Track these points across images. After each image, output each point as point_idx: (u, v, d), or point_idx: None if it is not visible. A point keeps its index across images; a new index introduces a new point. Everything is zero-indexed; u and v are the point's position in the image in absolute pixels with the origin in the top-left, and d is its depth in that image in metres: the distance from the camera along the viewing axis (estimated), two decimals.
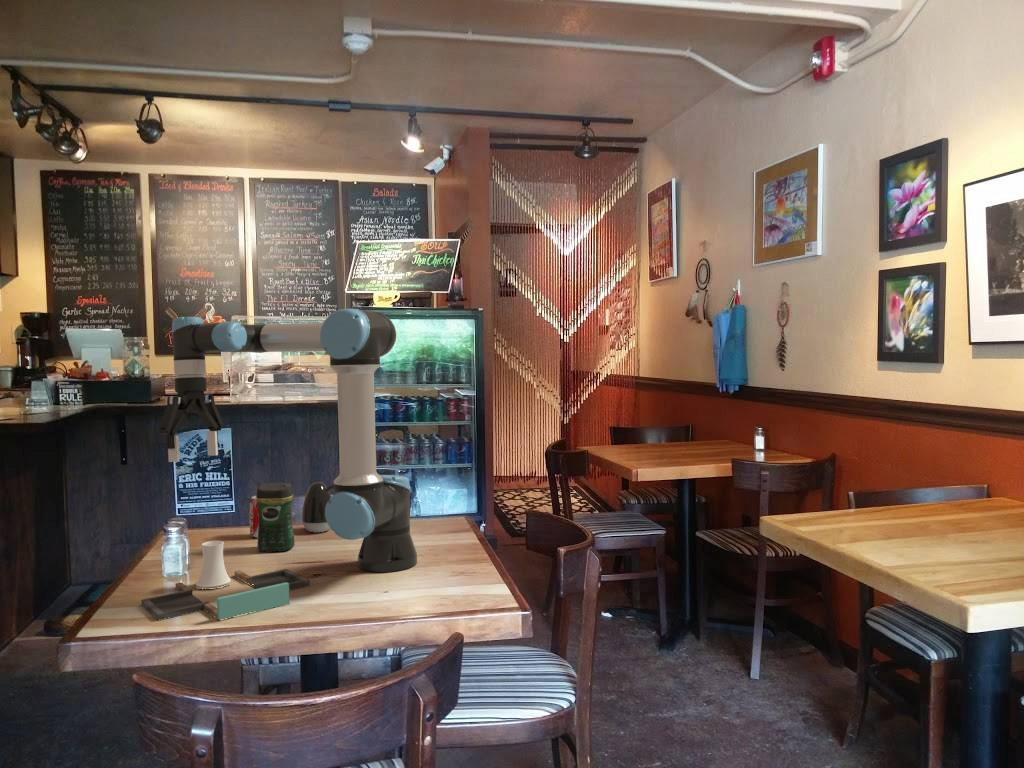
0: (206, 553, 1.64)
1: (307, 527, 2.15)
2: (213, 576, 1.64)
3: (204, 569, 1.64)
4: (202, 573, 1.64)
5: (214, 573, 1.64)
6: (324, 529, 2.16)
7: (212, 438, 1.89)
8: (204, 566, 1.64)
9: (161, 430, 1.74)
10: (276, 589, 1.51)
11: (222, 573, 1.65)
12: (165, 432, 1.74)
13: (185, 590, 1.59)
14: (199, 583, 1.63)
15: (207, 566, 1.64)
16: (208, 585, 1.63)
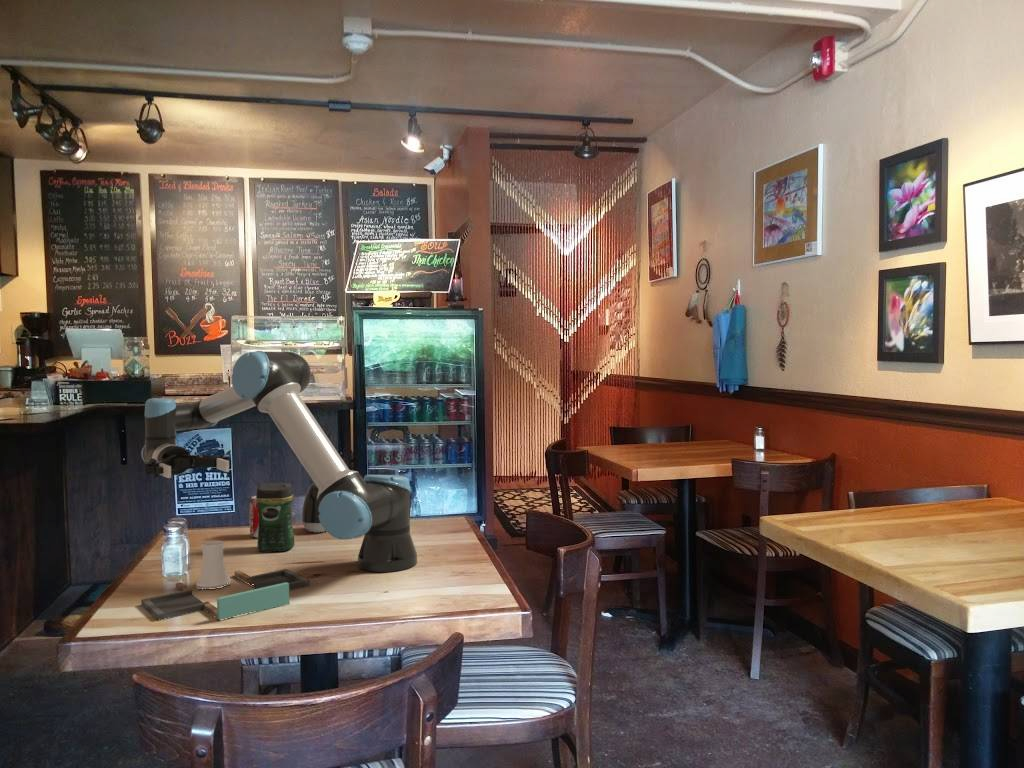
0: (206, 553, 1.64)
1: (307, 527, 2.15)
2: (213, 576, 1.64)
3: (204, 569, 1.64)
4: (202, 573, 1.64)
5: (214, 573, 1.64)
6: (324, 529, 2.16)
7: (219, 462, 1.79)
8: (204, 566, 1.64)
9: None
10: (276, 589, 1.51)
11: (222, 573, 1.65)
12: (145, 466, 1.70)
13: (185, 590, 1.59)
14: (199, 583, 1.63)
15: (207, 566, 1.64)
16: (208, 585, 1.63)
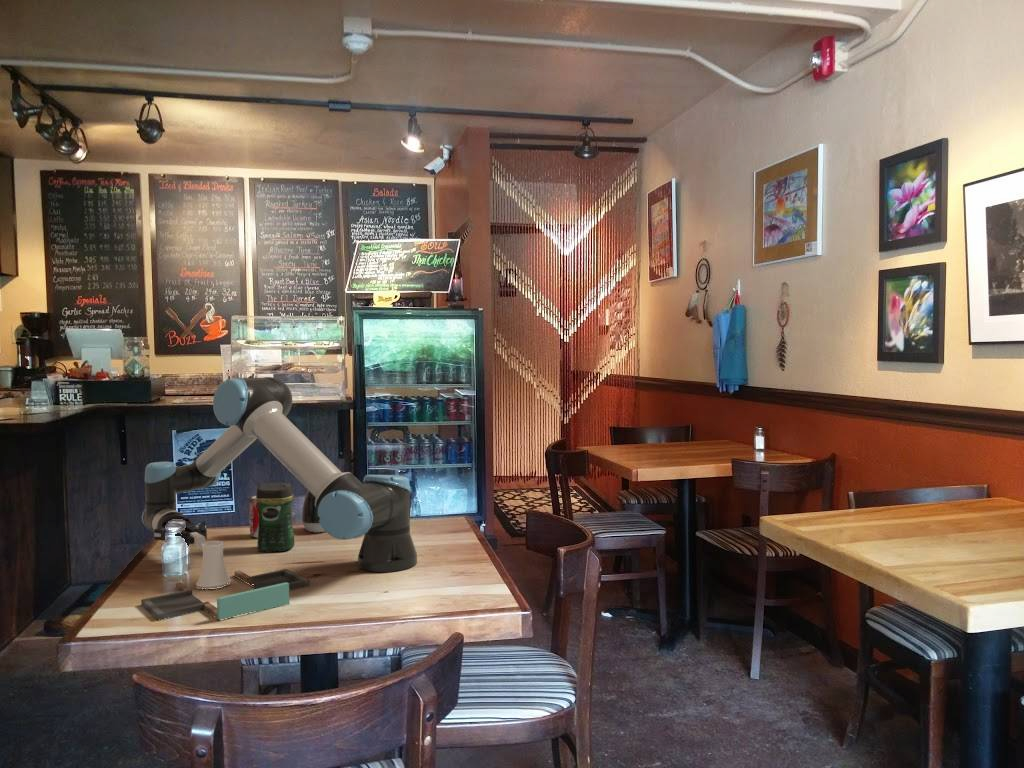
0: (206, 553, 1.64)
1: (307, 527, 2.15)
2: (213, 576, 1.64)
3: (204, 569, 1.64)
4: (202, 573, 1.64)
5: (214, 573, 1.64)
6: None
7: None
8: (204, 566, 1.64)
9: None
10: (276, 589, 1.51)
11: (222, 573, 1.65)
12: None
13: (185, 590, 1.59)
14: (199, 583, 1.63)
15: (207, 566, 1.64)
16: (208, 585, 1.62)
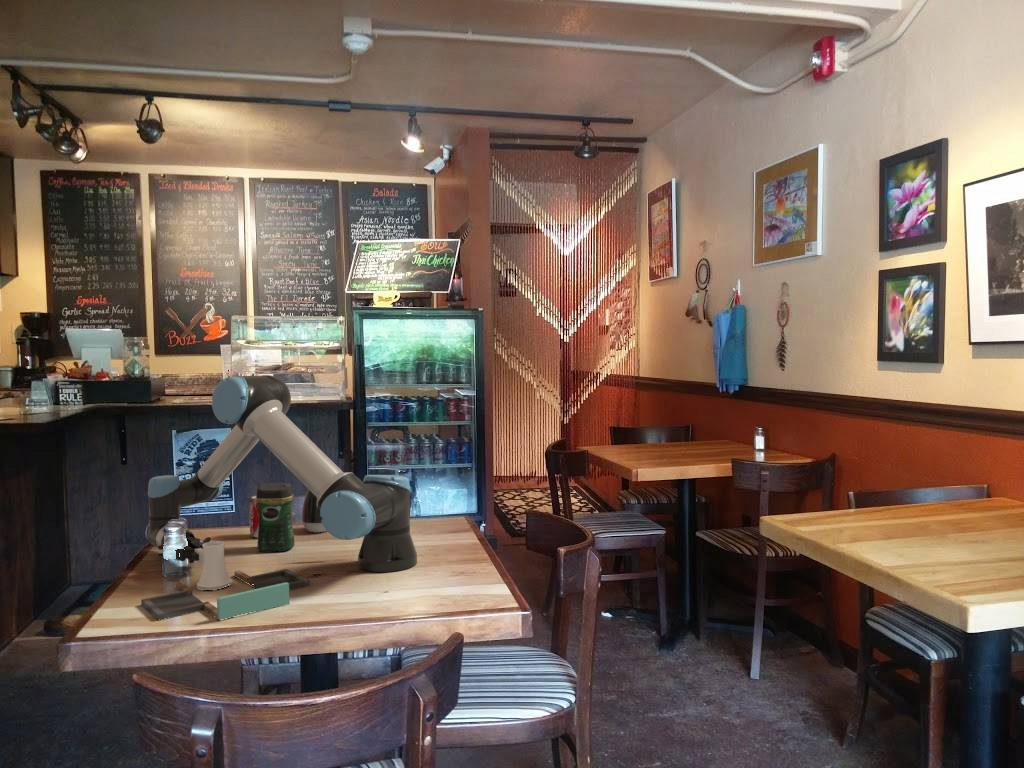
0: (207, 553, 1.63)
1: (307, 527, 2.15)
2: (214, 576, 1.63)
3: (205, 569, 1.63)
4: (203, 574, 1.63)
5: (215, 574, 1.63)
6: (324, 529, 2.16)
7: None
8: (205, 567, 1.63)
9: (180, 557, 1.70)
10: (276, 589, 1.51)
11: (223, 573, 1.64)
12: (182, 552, 1.70)
13: (185, 590, 1.59)
14: (200, 584, 1.63)
15: (208, 566, 1.63)
16: (209, 586, 1.62)
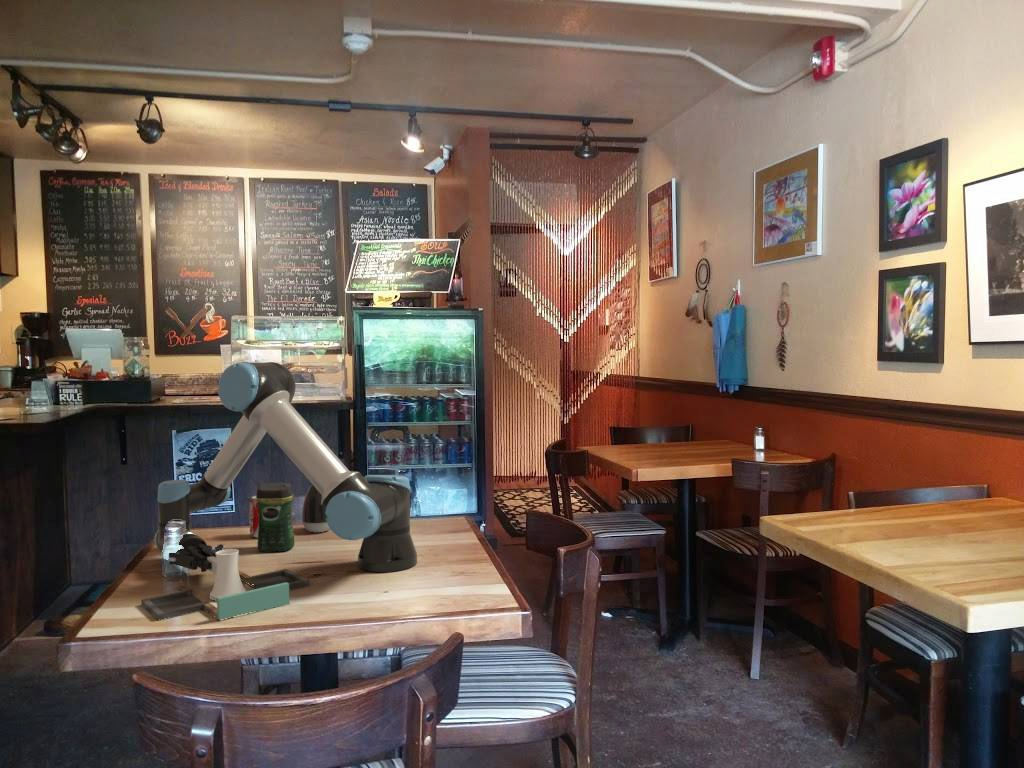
0: (220, 562, 1.56)
1: (307, 527, 2.15)
2: (228, 586, 1.56)
3: (218, 579, 1.56)
4: (216, 583, 1.56)
5: (229, 583, 1.56)
6: (324, 529, 2.16)
7: None
8: (218, 576, 1.56)
9: (192, 565, 1.63)
10: (276, 589, 1.51)
11: (237, 583, 1.57)
12: (194, 560, 1.63)
13: (185, 590, 1.59)
14: (213, 594, 1.56)
15: (221, 576, 1.56)
16: None
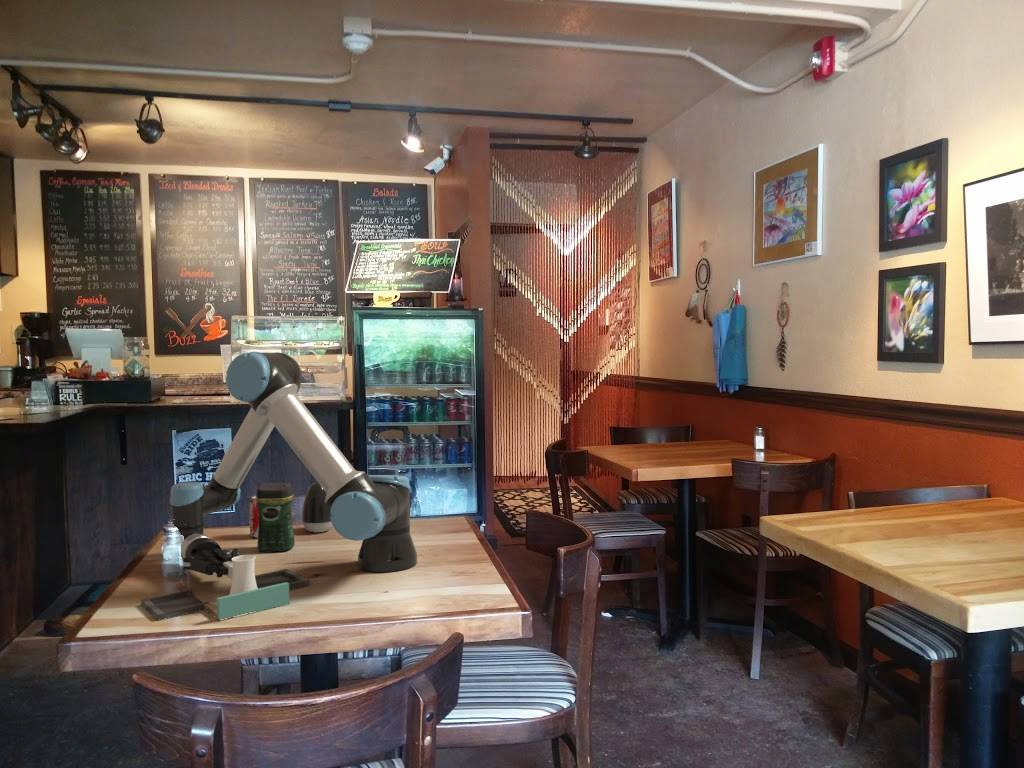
0: (237, 569, 1.51)
1: (307, 527, 2.15)
2: None
3: (234, 586, 1.51)
4: (232, 590, 1.51)
5: None
6: (324, 529, 2.16)
7: None
8: (234, 583, 1.51)
9: (207, 570, 1.58)
10: (276, 589, 1.51)
11: None
12: (210, 566, 1.58)
13: (185, 590, 1.59)
14: None
15: (238, 583, 1.51)
16: None
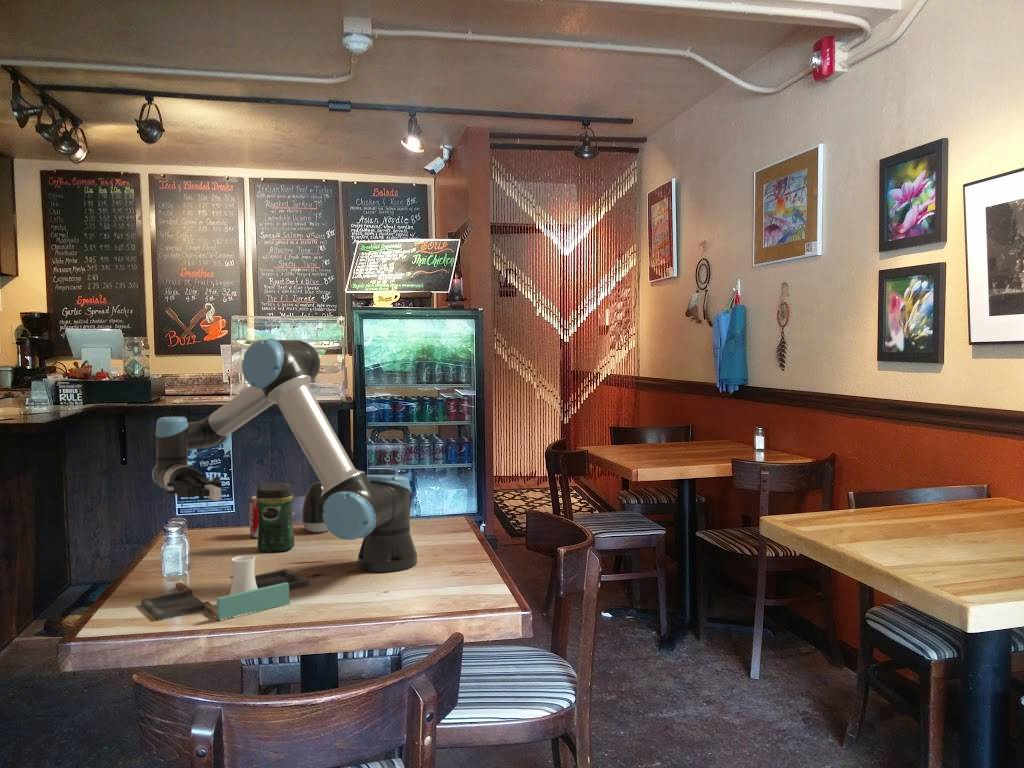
0: (237, 569, 1.51)
1: (307, 527, 2.15)
2: None
3: (234, 586, 1.51)
4: (232, 591, 1.51)
5: None
6: (324, 529, 2.16)
7: None
8: (234, 583, 1.51)
9: (190, 493, 1.67)
10: (276, 589, 1.51)
11: None
12: (192, 488, 1.66)
13: (185, 590, 1.59)
14: None
15: (238, 583, 1.51)
16: None
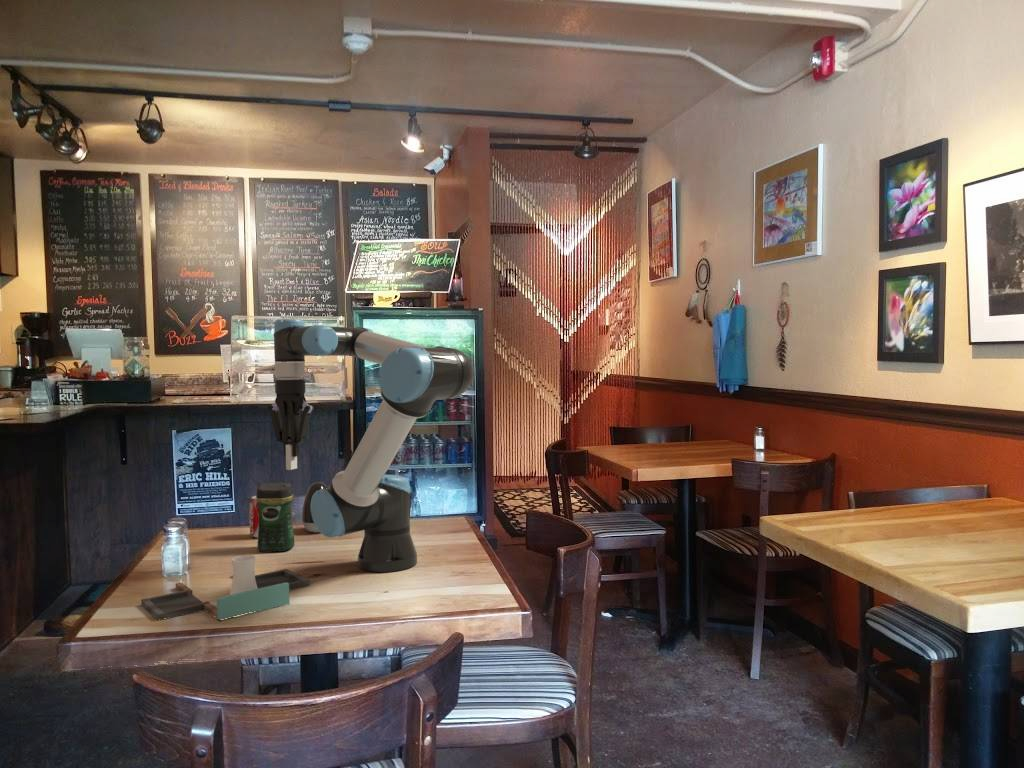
0: (237, 569, 1.51)
1: (307, 527, 2.15)
2: None
3: (234, 586, 1.51)
4: (232, 591, 1.51)
5: None
6: None
7: None
8: (234, 583, 1.51)
9: None
10: (276, 589, 1.51)
11: None
12: None
13: (185, 590, 1.59)
14: None
15: (238, 583, 1.51)
16: None
